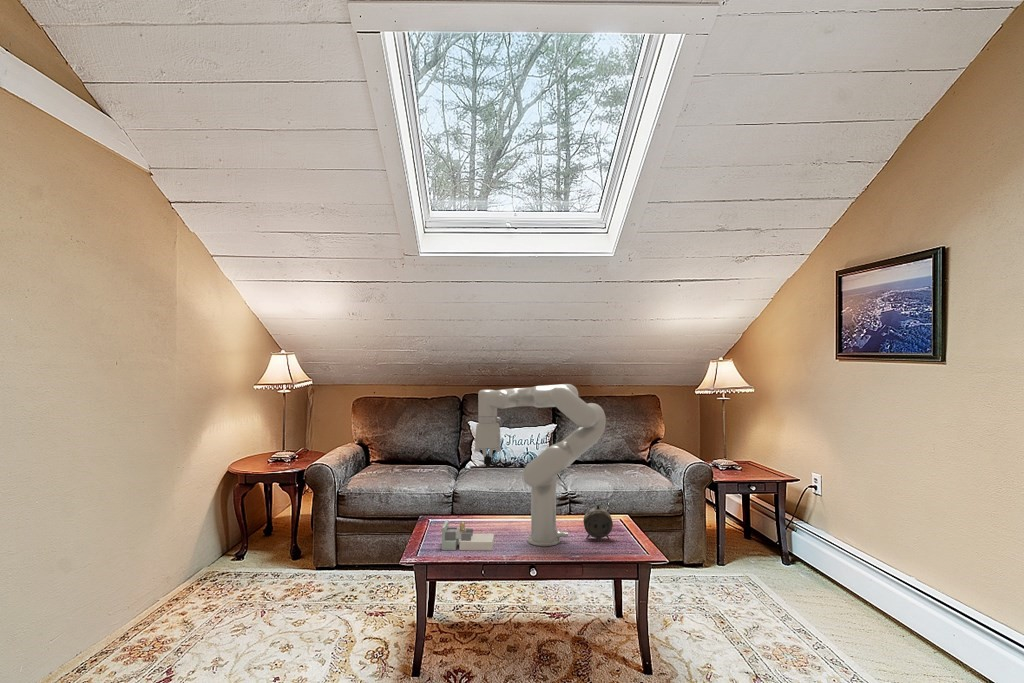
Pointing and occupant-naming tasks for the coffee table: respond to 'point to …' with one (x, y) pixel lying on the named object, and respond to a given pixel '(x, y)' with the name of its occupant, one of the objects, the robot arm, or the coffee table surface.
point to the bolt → (459, 530)
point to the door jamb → (448, 537)
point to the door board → (476, 541)
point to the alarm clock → (598, 522)
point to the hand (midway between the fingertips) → (487, 466)
